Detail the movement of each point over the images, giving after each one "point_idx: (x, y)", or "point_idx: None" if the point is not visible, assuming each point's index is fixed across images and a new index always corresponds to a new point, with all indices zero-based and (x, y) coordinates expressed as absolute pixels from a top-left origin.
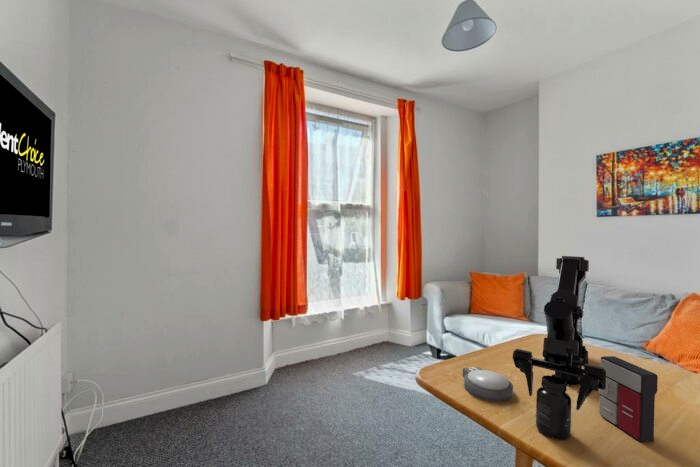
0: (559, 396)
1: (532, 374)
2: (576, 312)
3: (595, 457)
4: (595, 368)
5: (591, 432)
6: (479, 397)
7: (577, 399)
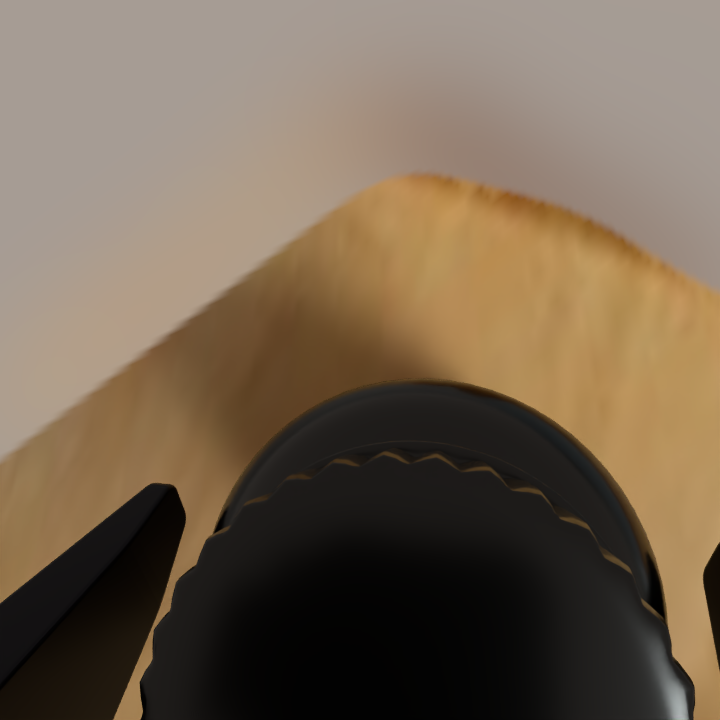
0: (328, 454)
1: None
2: None
3: (194, 355)
4: None
5: None
6: None
7: (109, 558)
